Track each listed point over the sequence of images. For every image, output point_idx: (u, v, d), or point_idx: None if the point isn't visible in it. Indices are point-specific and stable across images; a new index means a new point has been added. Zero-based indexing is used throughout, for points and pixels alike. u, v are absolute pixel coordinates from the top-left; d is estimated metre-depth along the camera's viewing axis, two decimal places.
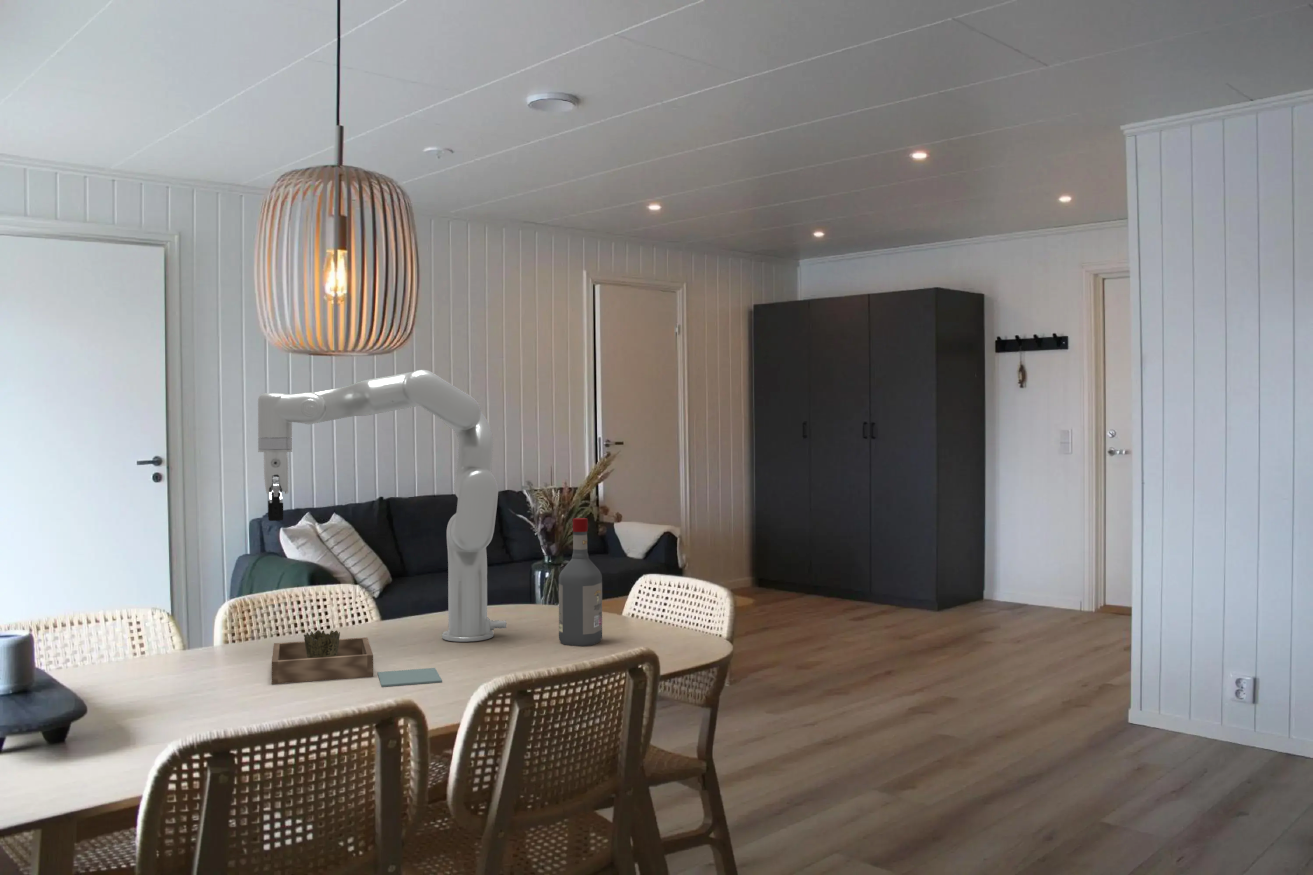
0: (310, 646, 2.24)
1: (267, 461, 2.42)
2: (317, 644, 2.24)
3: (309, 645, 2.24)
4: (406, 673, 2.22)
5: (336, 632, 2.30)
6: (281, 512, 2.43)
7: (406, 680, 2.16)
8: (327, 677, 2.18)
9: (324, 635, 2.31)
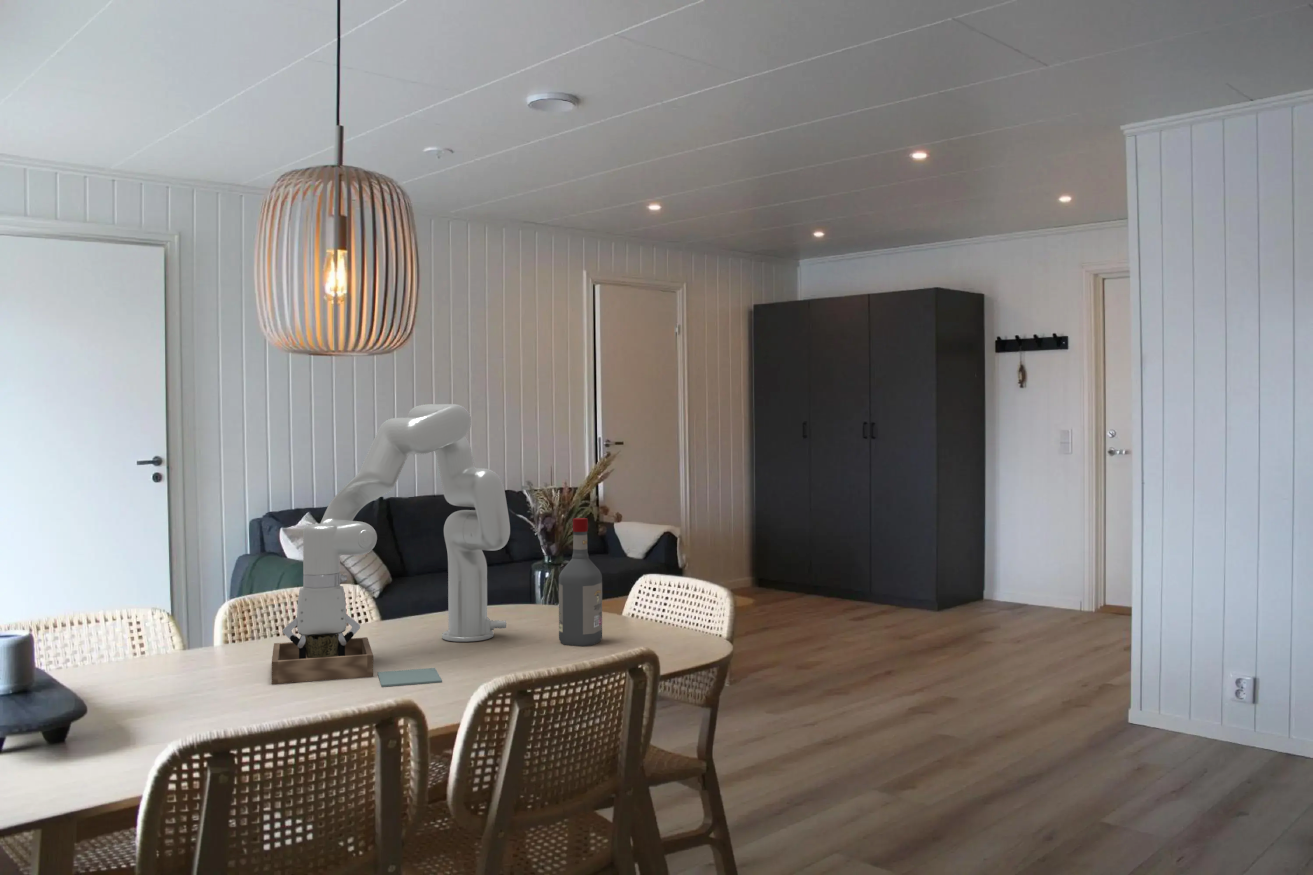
0: (310, 646, 2.24)
1: (343, 597, 2.27)
2: (317, 644, 2.24)
3: (309, 645, 2.24)
4: (406, 673, 2.22)
5: None
6: None
7: (406, 680, 2.16)
8: (327, 677, 2.18)
9: (324, 635, 2.31)
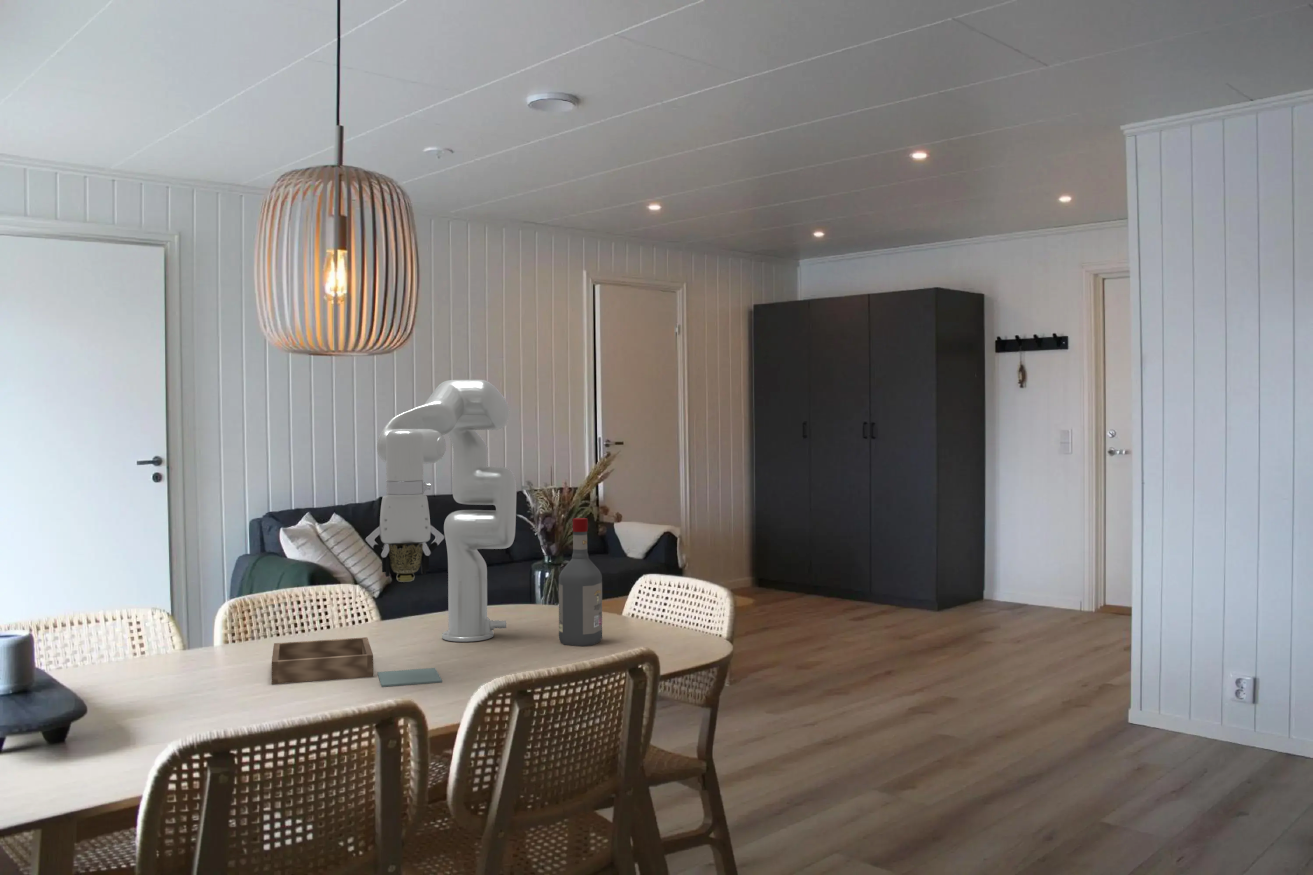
0: (394, 555, 2.17)
1: (427, 506, 2.19)
2: (401, 553, 2.16)
3: (393, 554, 2.17)
4: (406, 673, 2.22)
5: None
6: None
7: (406, 680, 2.16)
8: (327, 677, 2.18)
9: (406, 546, 2.23)
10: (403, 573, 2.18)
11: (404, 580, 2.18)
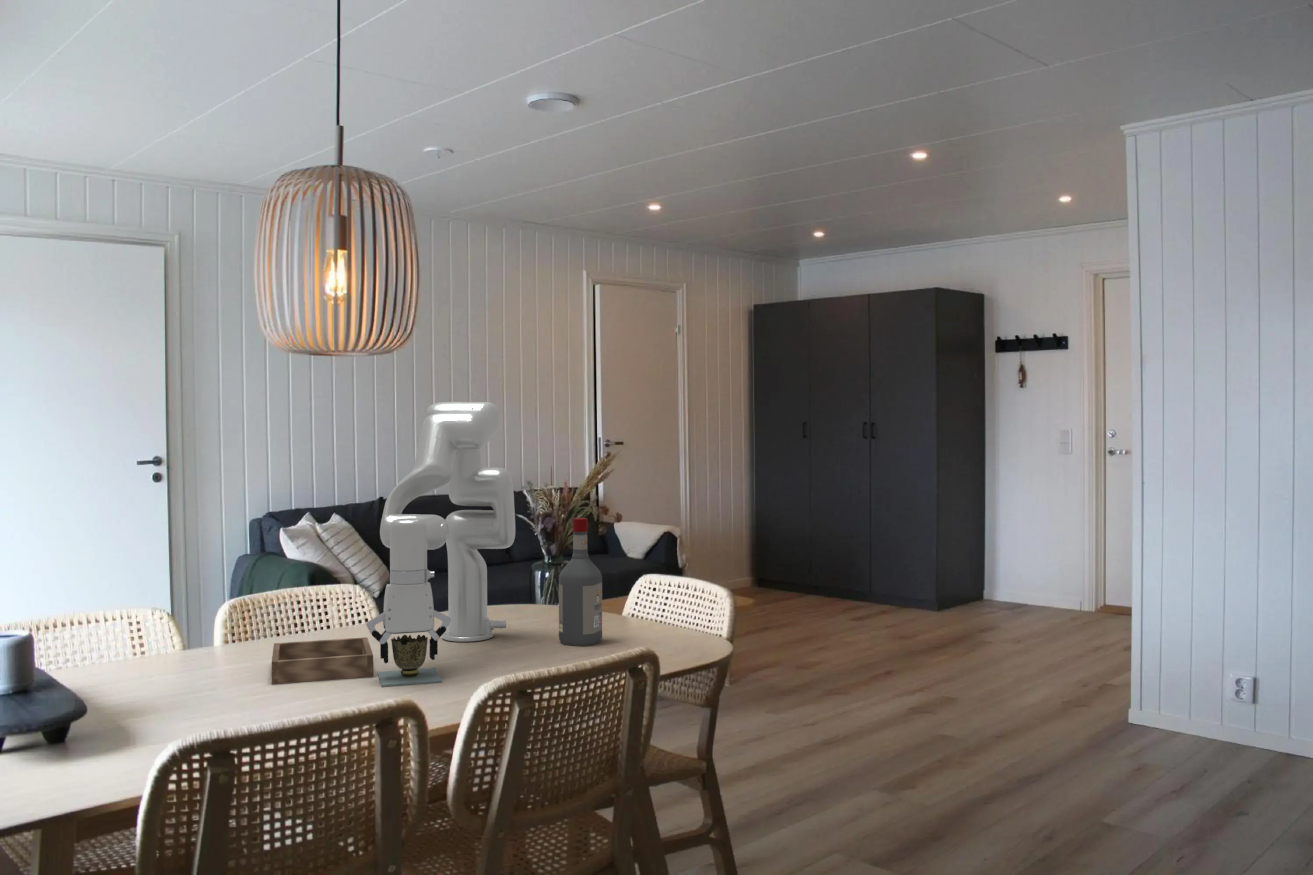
0: (398, 651, 2.17)
1: (431, 594, 2.19)
2: (405, 649, 2.16)
3: (397, 650, 2.17)
4: None
5: (423, 637, 2.22)
6: None
7: (406, 680, 2.16)
8: (327, 677, 2.18)
9: (411, 640, 2.23)
10: (407, 669, 2.18)
11: (408, 675, 2.18)
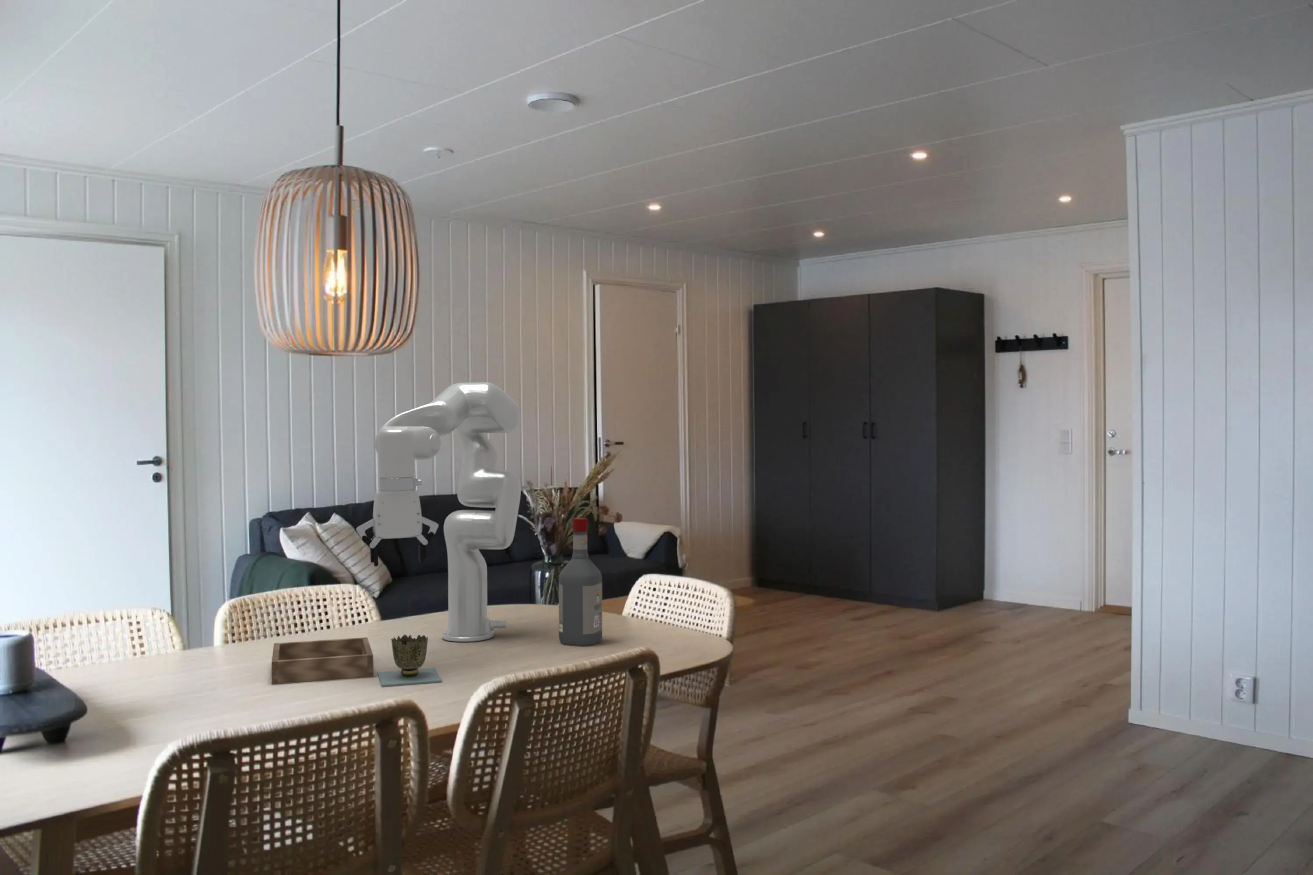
0: (398, 651, 2.17)
1: (418, 501, 2.28)
2: (406, 649, 2.16)
3: (397, 650, 2.17)
4: None
5: (423, 637, 2.22)
6: None
7: (406, 680, 2.16)
8: (327, 677, 2.18)
9: (411, 640, 2.23)
10: (407, 669, 2.18)
11: (408, 676, 2.18)
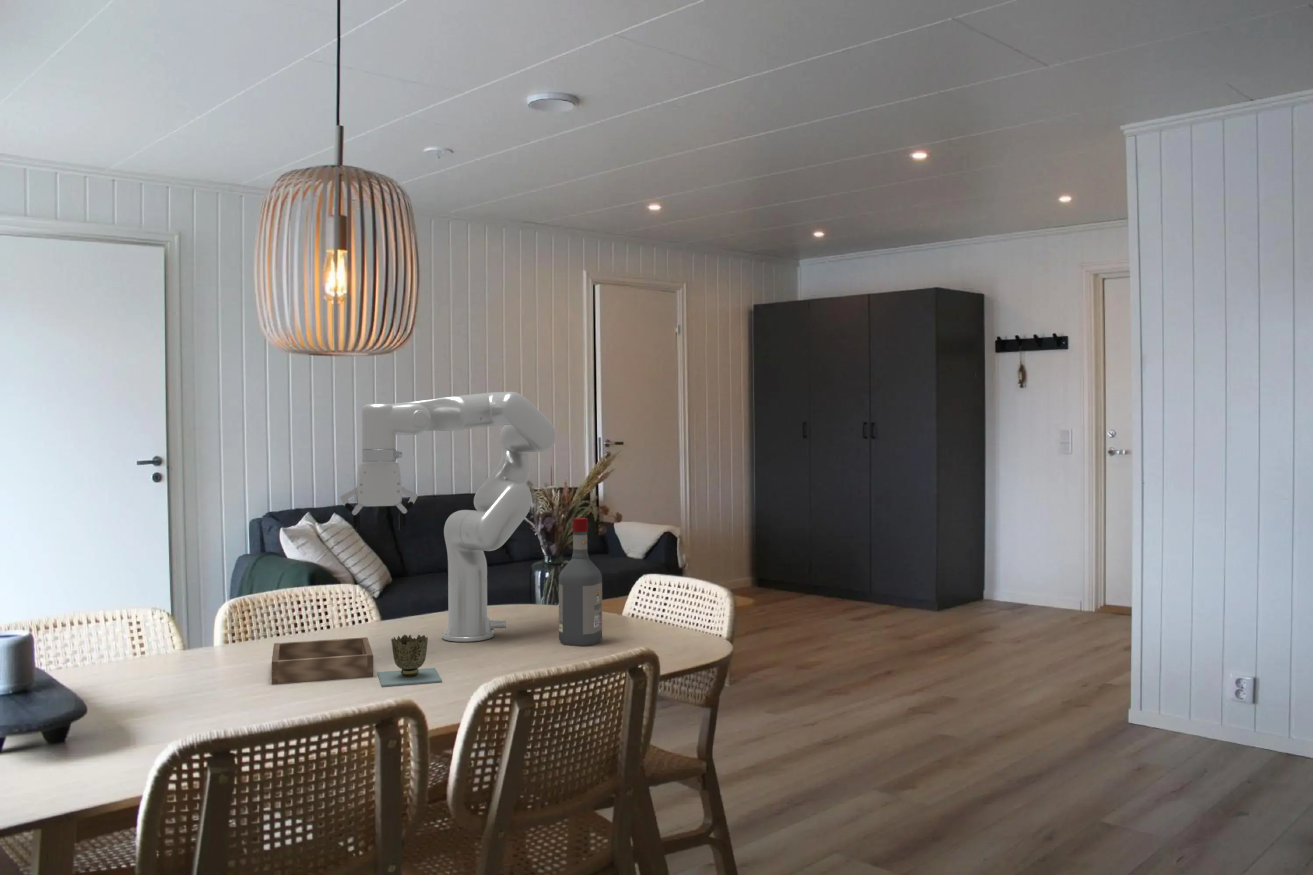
0: (398, 651, 2.17)
1: (399, 472, 2.43)
2: (405, 649, 2.16)
3: (397, 650, 2.17)
4: None
5: (423, 637, 2.22)
6: None
7: (406, 680, 2.16)
8: (327, 677, 2.18)
9: (411, 640, 2.23)
10: (407, 669, 2.18)
11: (408, 675, 2.18)
